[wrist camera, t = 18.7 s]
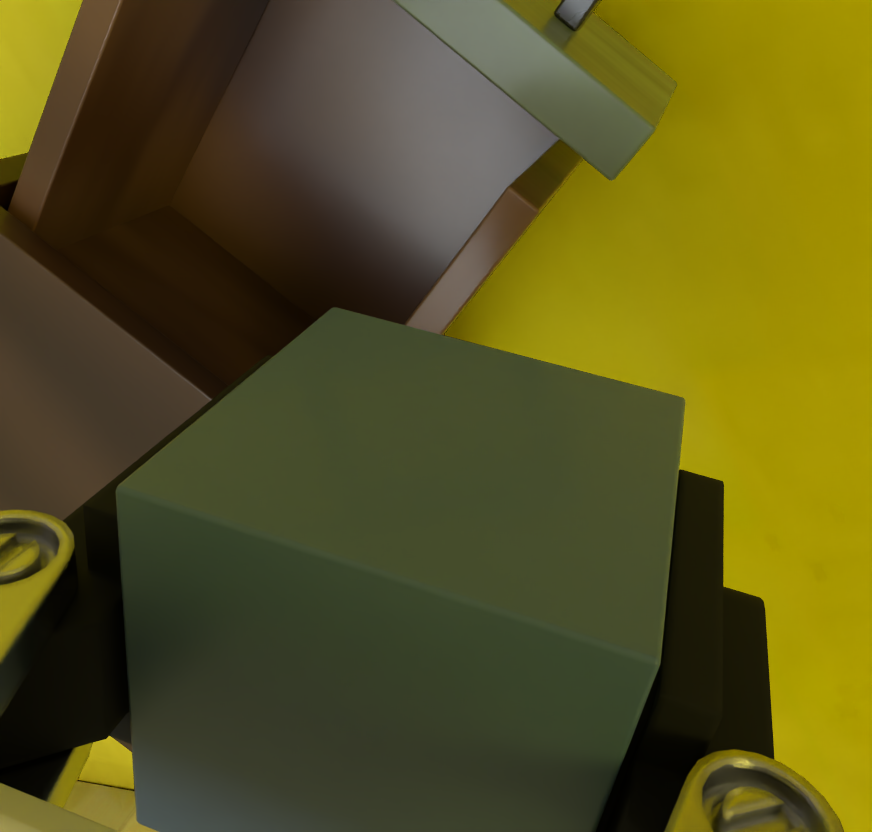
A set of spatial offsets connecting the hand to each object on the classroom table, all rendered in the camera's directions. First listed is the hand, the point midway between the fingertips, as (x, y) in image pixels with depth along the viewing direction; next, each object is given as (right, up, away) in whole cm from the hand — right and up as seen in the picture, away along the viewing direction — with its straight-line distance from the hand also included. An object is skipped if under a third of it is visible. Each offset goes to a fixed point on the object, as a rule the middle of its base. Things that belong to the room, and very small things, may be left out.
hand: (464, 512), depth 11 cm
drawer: (-1, +11, +12) cm, 16 cm away
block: (0, 0, 0) cm, 0 cm away
